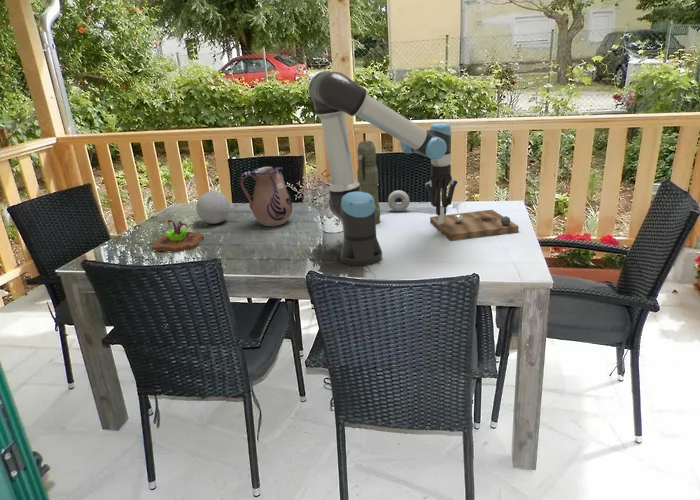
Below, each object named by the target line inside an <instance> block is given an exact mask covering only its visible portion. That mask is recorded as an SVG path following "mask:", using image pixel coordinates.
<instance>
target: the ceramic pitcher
mask: <svg viewBox="0 0 700 500" xmlns="http://www.w3.org/2000/svg"><path fill="white" fill-rule="evenodd" d="M283 170H284V167H279V166H277V167H273V166H263V167H260V168H255V169H254V170H252V171H246V172H244V173H242V174H241V176H240V178H239V179H240V180H239V182H240V183H239V184H240V187H241V189H242V191H243V194H244V195H245V197H246V198H247V200H248V202H249V209H250V210H251V212H252V214H253V217H254V218H255V219H256V221H258V223H259V224H261V225H263V226H266V227H277V226H282V225H283V224H286V222H287V221H288V220H289V218H290V217H291V216H292V212H293V203H292V200H291V197H290V193H289V190H288V188H287V185H286V182H285V179H284V174H283V173H284V171H283ZM247 177H252V178H253V179H254V181H255V184H254V189H253V194H252V195H250V193H249V192H248V190H247V189H246V187H245V183H244V181H245V179H246V178H247Z"/></svg>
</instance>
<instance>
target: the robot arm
mask: <svg viewBox="0 0 700 500" xmlns="http://www.w3.org/2000/svg"><path fill="white" fill-rule="evenodd" d="M307 89H308V94H309V97H310V100H311V101H312V102H313V107H314V114H315V115H316V116H317V117H318V118H319V119H320V122H321V123H320V124H321V128H322V133H323V140H324V145H325V151H326V157H327V162H328V168H329V174H330V180H331V183H330V185H329V187H328V191H329V192H328V193H329V198H328V206H329V210H330V212H331V213H332V215H334V216H335V218H338V219H339V220H340V221H341V222H342V228H343V230H342V231H343V241H342V244H341V245H342V246H341V249H340V261H341V262H342V263H343V264H345V265H348V266H355V267H360V266H361V267H362V266H369V265H370V266H371V265H374V264H377V263H378V262H380V261H381V260H382V258H383V251H382V248H381V245H380V243H379V240H378V238H377V224H376V218H375V203H374V198H373V196H372V195H370V194H368V193H363V192H361V190H360V184H359V182H358V180H356V179H355V173H354V167H353V160H352V153H351V147H350V140H349V134H348V127H347V121H346V114H347V115H349V116H351V117H355V116H357V117H359V118H360V119H362V120H364V121H365V122H367V123H368V124H371V125H372V126H374V127H375V128H377V129H379V130H381V131H382V132H384V133H386V134H388V135H389V136H391V137H392V138H394V139H396V140H398V141H399V143H400V145H399V146H400V148H401V151H402V153H403V154H413V153H414V154H415V153H416V154H418V155H421V156H424V157H427V158H429V159H430V163H431V166H430V172H431V173H430V174H431V176H430V179H429V181H428V182H425V183H424V185H425V188H426V190H427V192H428V196H429V199H430V204H431V206H432V207H435V213H436V216H438V222H439V223H444V214H446V215H447V208H448V206H451V204H452V201H453V197H454V193H455V189H456V186H457V184H458V181H457V180H456V179H453V176H452V175H451V174H452V165H451V163H452V157H451V156H452V153H451V152H452V151H451V149H452V148H451V147H452V143H451V142H452V129H451V124H449V123H448V122H447V123H446V122H438V123H437V122H436V123H432V124H431V125H430V128H429V129H428V130H425V129H424V128H422V127H421V126H419V125H418V124H417V123H414V122H413V121H411V120H409V119H408V118H406V117H405V116H403V115H401V114H400V113H398V112H396V111H395V110H394V109H391V108H390V107H389V106H387V105H385V104H383V103H382V102H381V101H379V100H378V99H376V98H374V97H372V96H371V95H369V94H368V90H367V89H366V88H364V87H362V86H361V85H359V83H356V82H355V81H354V80H353V79H351V78H350V77H348V76H347V75H345V74H344V73H343V72H340V71H331V70H322V71H319V72H318V73H316V74H315V75H314V76H313V77H311V79H310V81H309V84H308V88H307ZM432 186H434V189H435V196H434V191H433V188H432ZM448 186H449V188H448Z"/></svg>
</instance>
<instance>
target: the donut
mask: <svg viewBox="0 0 700 500" xmlns="http://www.w3.org/2000/svg"><path fill="white" fill-rule="evenodd" d="M398 198H399V199H401V201H402V202H401V203H399V204H398V203H397V201H396V199H398ZM387 204H388V206H389V208H390V209H392V211H394V212H403V211H405V210H407V209H408V207H409V205H410V196H409V195H408V194H407V193H406V192H405V191H403V190H400V189H398V190H393V191H392V192H391V193H390V194H389V196H388V198H387Z"/></svg>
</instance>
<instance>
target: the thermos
mask: <svg viewBox="0 0 700 500" xmlns="http://www.w3.org/2000/svg"><path fill="white" fill-rule="evenodd" d="M356 151H357V166H358V168H357V171H356V174H357V182H359V184H360V190H361V192H363V193H368V194H370V195H372V196H373V198H374V203H375V218H376V225H379V224H380V223H381V206H380V203H379V189H378V188H379V187H378V185H379V170H378V167H377V162H376V160H377V155H376V154H377V153H376V151H377V150H376V145H375V144H374V142H373V141H371V140H364V141H363V140H362V141H359V143H358V145H357V150H356Z"/></svg>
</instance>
